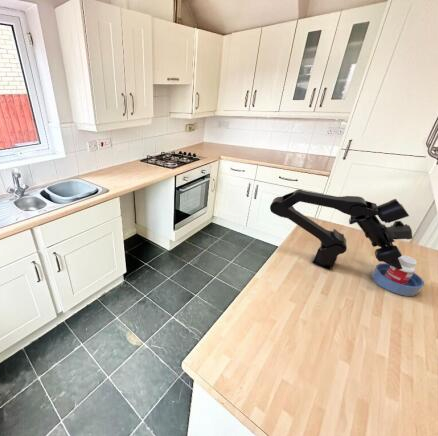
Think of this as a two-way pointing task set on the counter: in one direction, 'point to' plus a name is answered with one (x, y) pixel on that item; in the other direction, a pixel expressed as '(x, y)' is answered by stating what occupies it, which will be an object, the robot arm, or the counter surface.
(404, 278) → the pill bottle
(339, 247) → the robot arm
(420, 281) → the bowl
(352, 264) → the counter surface
